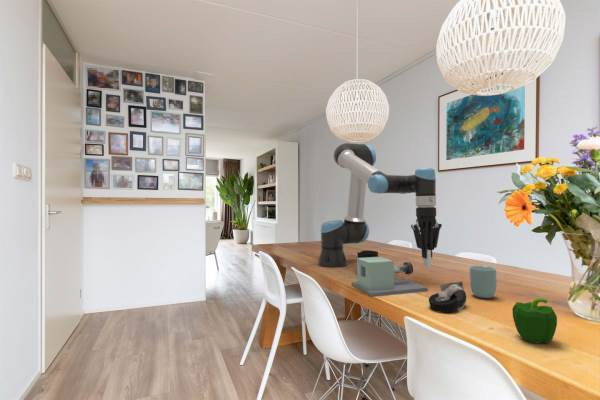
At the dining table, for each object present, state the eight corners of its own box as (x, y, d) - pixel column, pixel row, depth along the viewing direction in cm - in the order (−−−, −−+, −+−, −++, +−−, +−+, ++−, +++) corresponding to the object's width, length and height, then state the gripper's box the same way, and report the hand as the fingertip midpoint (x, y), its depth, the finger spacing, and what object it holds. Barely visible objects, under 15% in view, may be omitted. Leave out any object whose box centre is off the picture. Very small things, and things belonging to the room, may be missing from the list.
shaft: (371, 275, 120) (370, 263, 120) (406, 272, 124) (405, 261, 124) (376, 278, 115) (376, 265, 115) (413, 275, 119) (413, 263, 120)
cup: (489, 293, 110) (488, 265, 110) (501, 300, 102) (500, 270, 102) (466, 293, 110) (465, 265, 111) (476, 300, 103) (476, 270, 103)
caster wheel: (434, 320, 92) (429, 305, 102) (475, 316, 89) (466, 300, 99) (429, 299, 92) (424, 285, 101) (470, 294, 89) (461, 280, 98)
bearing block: (351, 285, 124) (351, 257, 124) (402, 280, 130) (402, 253, 130) (371, 296, 108) (370, 264, 109) (427, 290, 114) (427, 260, 115)
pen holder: (354, 271, 148) (354, 250, 148) (373, 270, 150) (373, 250, 150) (362, 276, 139) (361, 253, 139) (381, 275, 141) (381, 253, 141)
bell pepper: (505, 337, 75) (504, 295, 75) (522, 329, 79) (521, 290, 79) (547, 351, 67) (546, 305, 67) (563, 342, 72) (562, 298, 72)
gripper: (417, 207, 119) (419, 269, 118) (446, 206, 122) (447, 266, 122) (406, 207, 126) (407, 265, 126) (433, 206, 129) (434, 263, 129)
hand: (427, 266), depth 124 cm, fingers closed
